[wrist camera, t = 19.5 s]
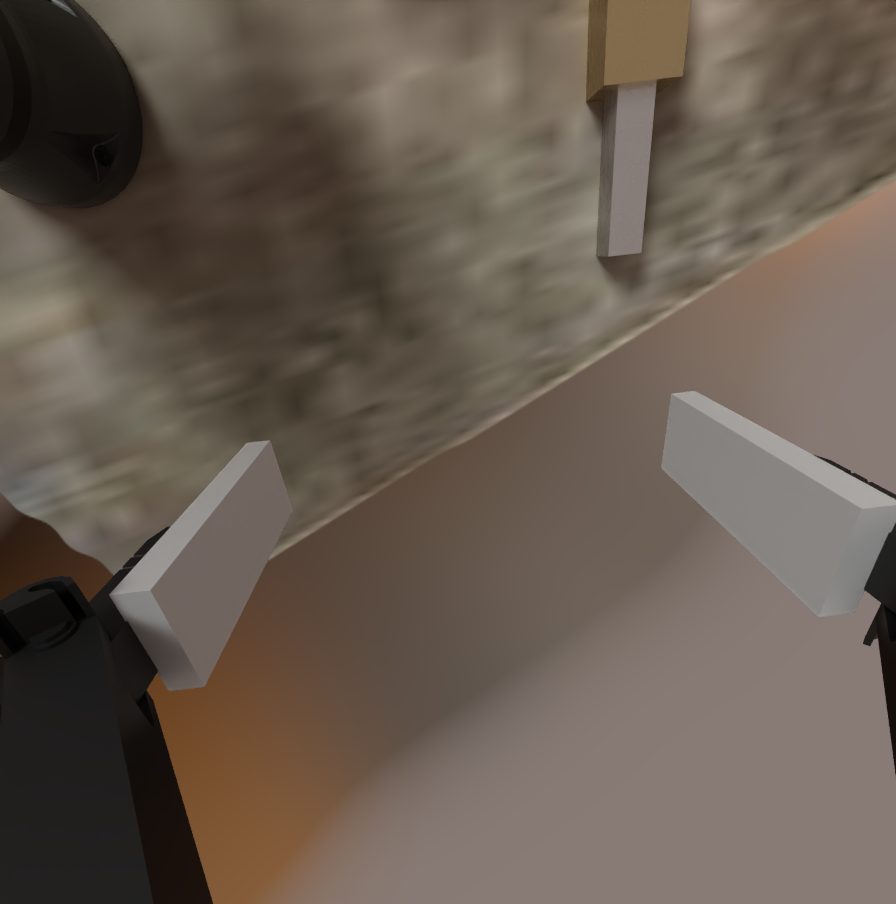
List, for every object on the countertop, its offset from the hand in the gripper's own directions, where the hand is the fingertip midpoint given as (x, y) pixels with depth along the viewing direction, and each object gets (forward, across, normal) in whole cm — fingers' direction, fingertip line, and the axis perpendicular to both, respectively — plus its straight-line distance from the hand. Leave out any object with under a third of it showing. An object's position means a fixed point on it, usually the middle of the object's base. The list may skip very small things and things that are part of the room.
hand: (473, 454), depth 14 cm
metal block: (+32, +17, +13) cm, 38 cm away
